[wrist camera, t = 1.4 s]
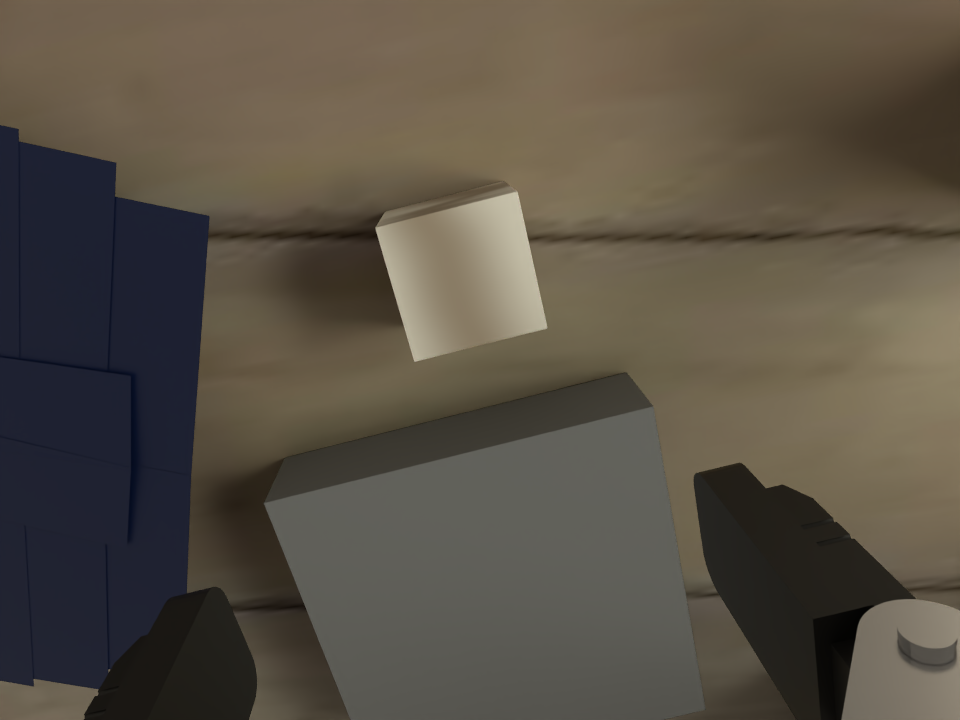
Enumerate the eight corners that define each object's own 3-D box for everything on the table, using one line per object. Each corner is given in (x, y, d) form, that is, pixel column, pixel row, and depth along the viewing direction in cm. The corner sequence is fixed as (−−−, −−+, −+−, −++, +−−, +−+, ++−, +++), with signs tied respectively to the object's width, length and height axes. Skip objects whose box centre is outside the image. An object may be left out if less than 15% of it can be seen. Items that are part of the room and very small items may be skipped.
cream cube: (503, 180, 28) (517, 191, 23) (529, 296, 30) (547, 328, 25) (385, 211, 28) (375, 227, 23) (417, 324, 30) (414, 361, 25)
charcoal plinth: (626, 372, 31) (653, 406, 27) (677, 648, 36) (705, 709, 32) (284, 457, 31) (263, 503, 27) (383, 719, 36) (377, 788, 33)
